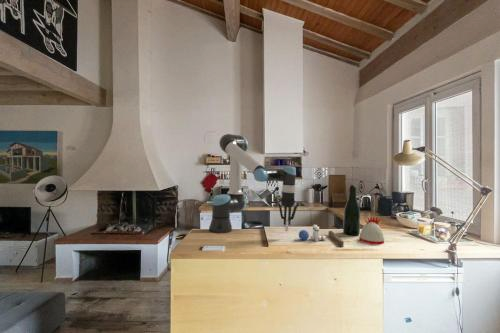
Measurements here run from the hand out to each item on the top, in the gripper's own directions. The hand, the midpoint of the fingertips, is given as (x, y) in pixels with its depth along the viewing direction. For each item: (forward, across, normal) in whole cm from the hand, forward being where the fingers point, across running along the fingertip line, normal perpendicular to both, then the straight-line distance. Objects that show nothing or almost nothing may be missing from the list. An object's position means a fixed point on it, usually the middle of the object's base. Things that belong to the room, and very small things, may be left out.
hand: (286, 230), depth 168 cm
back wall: (+5, +30, 0) cm, 30 cm away
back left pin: (+5, +18, +2) cm, 19 cm away
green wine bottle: (+5, +46, +18) cm, 49 cm away
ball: (+2, +10, -1) cm, 11 cm away
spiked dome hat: (+5, +53, +2) cm, 53 cm away
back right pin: (+5, +18, -3) cm, 19 cm away
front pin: (+4, +15, 0) cm, 15 cm away
